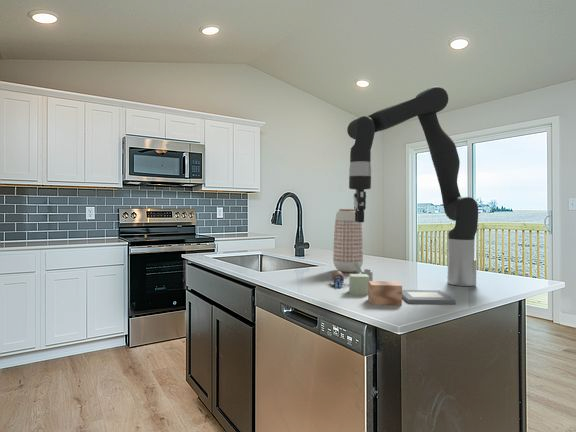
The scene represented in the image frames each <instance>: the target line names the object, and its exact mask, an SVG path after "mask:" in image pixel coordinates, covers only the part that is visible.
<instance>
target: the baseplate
mask: <svg viewBox="0 0 576 432" xmlns="http://www.w3.org/2000/svg"><path fill="white" fill-rule="evenodd" d="M402 300H404V301H405V302H406V303H408V304H418V305H419V304H422V305H425V304H426V305H456V304H457V303H456V299H454V298H452V297H451V296H450V295H448V294H446V293H445V292H443V291H442V290H435V289H428V290H427V289H402Z"/></svg>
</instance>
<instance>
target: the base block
mask: <svg viewBox="0 0 576 432" xmlns="http://www.w3.org/2000/svg"><path fill="white" fill-rule="evenodd" d="M402 290H403V285H402V284H401V283H400V282H399V281H392V280H391V281H388V280H387V281H381V280H372V281H368V294H367V301H368V302H369V303H371V304H370V305H371V306H372V305H373V306H374V305H376V306H380V305H382V306H402V305H403V298H402Z"/></svg>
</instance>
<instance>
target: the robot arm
mask: <svg viewBox="0 0 576 432" xmlns="http://www.w3.org/2000/svg"><path fill="white" fill-rule="evenodd" d="M448 103H449V94H448V92H447V91H446V90H445V89H444V88H443V87H441V86H433V87H432V86H431V87H430V88H429V87H428V88H427V89H425V90H423V91H421V92H420V93H417V95H415V97H413V98H411V99H408V100H406V101H403V102H399V103H397V104H395V105H391V106H387V107H385V108H383V109H380V110H377V111H375V112H373V113H372V114H369V115H364V116H360V117H357V118H355V119H353V120H351V121H350V122H349V124H348V125H347V128H346V130H347V131H346V132H347V134H348V136H349V138H351V139H353V140H355V141H354V144H353V145H352V146H351V148H350V151H349V152H350V155H349V157H350V158H349V162H350V163H349V168H348V169H349V171H348V178H349V179H348V188H349V190H354V191H355V193H353V209H354V210H355V221H356V222H362V223H364V222H365V211H366V205H367V200H366V199H367V195H366V194H367V192H366V191H365V190H371V189H372V163H371V159H372V158H371V156H372V153H371V150H372V145H373V142H374V139H375V133H377V132H382V131H385V130H387V129H390V128H393V127H395V126H397V125H400V124H402V123H404V122H406V121H409V120H411V119H413V118H415V117H417V119H418V121H419V123H420V126H421V129H422V130H423V132H424V136H425V139H426V143H427V146H428V149H429V154H430V158H431V161H432V164H433V165H432V166H433V167H434V170H435V174H436V177H437V182H438V186H439V189H440V195H441V199H442V205H443V209H444V213H445V216H446V217H447V218H448V219H449V220H451V221H455V225H454V227H453V228H452V229H451V230H449V231H448V235H447V238H448V239H447V277H446V278H447V284H448V285H452V286H459V287H460V286H462V287H473V286H476V285H477V263H478V262H477V259H475V243H476V242H475V237H476V234H477V231H478V226H479V225H478V222H479V205H478V203H477V201H476V200H475V199H474V198H473V197H470V196H461V193H460V190H459V185H458V177H459V171H460V163H461V162H460V156H459V152H458V149H457V145H456V144H455V142H454V141H453V139H452V138H451V137H450V136H449V135H448V134H447V132H445V130H444V129H443V128H442V126H441V124H440V122H439V118H438V115H437V113H440V112H441V111H443V110H445V108H446V107H447V105H448Z"/></svg>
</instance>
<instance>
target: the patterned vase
mask: <svg viewBox="0 0 576 432" xmlns="http://www.w3.org/2000/svg"><path fill="white" fill-rule="evenodd" d="M333 232H334V233H333V236H334V237H333V250H332V251H333V254H332V255H333V257H332V260H333V261H332V262H333V265H334V267H335V269H336V271H341V272H342V273H343V274H356V273H358V272H357V269H356V267H355V265H354V263H355V262H358V264H359V266H360V268H362V266H363V263H364V251H363V250H364V245H363V243H364V241H363V222H356V221H355V210H354V208H353V209H352V208H351V209H350V208H349V209H348V208H346V209H345V208H342V209H341V208H339V210H338V211H337V212H336V214H335V222H334V231H333Z"/></svg>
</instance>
